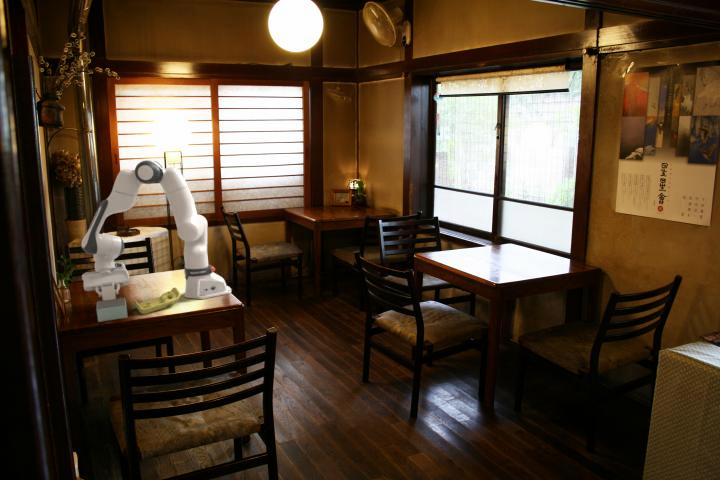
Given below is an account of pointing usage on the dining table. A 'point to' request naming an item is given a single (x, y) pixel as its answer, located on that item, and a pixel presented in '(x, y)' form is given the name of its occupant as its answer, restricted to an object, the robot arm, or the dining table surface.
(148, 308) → the plastic component
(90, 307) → the dining table surface
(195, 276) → the robot arm
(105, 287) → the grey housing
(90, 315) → the dining table surface
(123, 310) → the stand
